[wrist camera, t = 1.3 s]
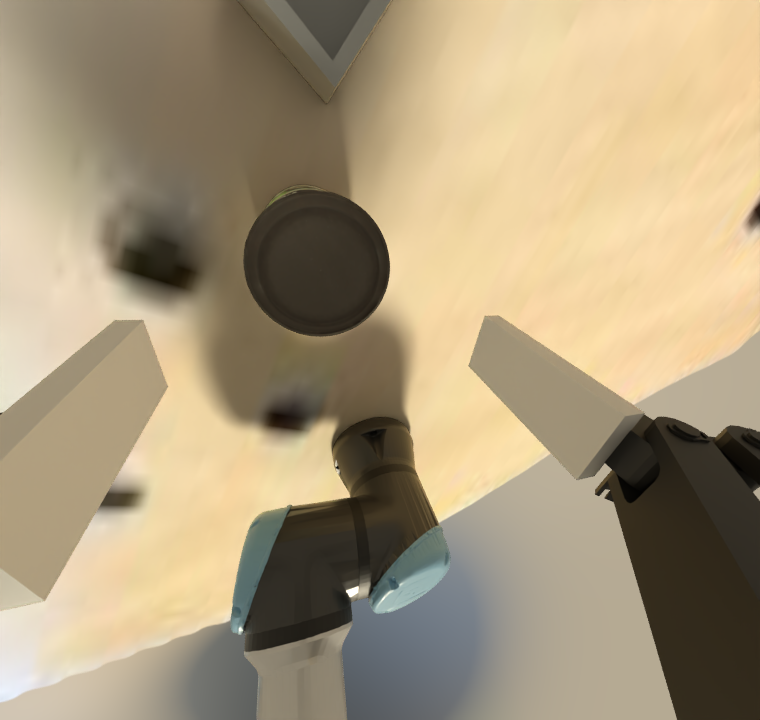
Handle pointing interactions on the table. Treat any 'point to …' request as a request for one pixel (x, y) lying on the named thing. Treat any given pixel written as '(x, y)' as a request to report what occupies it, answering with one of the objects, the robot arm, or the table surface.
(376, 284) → the coffee can
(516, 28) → the table surface
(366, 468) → the robot arm
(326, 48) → the grey bin
